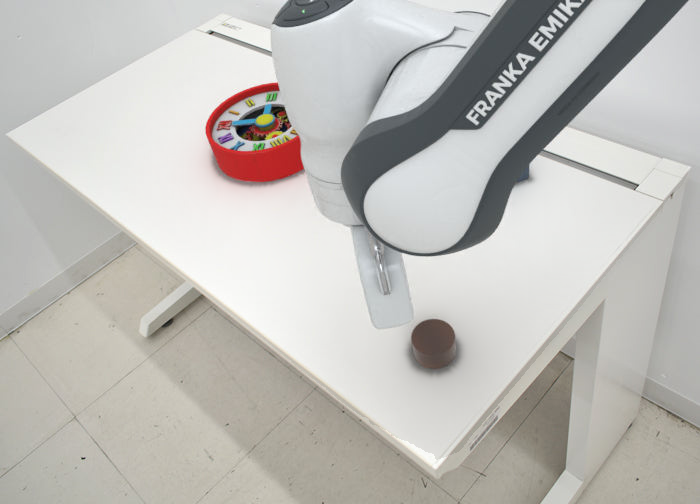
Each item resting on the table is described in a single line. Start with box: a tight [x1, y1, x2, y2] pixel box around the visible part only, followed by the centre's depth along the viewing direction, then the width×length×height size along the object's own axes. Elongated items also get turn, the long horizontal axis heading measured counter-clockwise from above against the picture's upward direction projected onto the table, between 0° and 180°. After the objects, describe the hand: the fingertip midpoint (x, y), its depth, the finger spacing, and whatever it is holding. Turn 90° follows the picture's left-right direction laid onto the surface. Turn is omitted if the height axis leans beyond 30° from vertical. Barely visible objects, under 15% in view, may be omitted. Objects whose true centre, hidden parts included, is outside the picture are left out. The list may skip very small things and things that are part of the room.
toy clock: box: [204, 82, 304, 183], centre depth 103 cm, size 20×6×20 cm
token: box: [410, 318, 457, 370], centre depth 71 cm, size 5×5×3 cm
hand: (385, 279), depth 61 cm, fingers open, 8 cm apart
